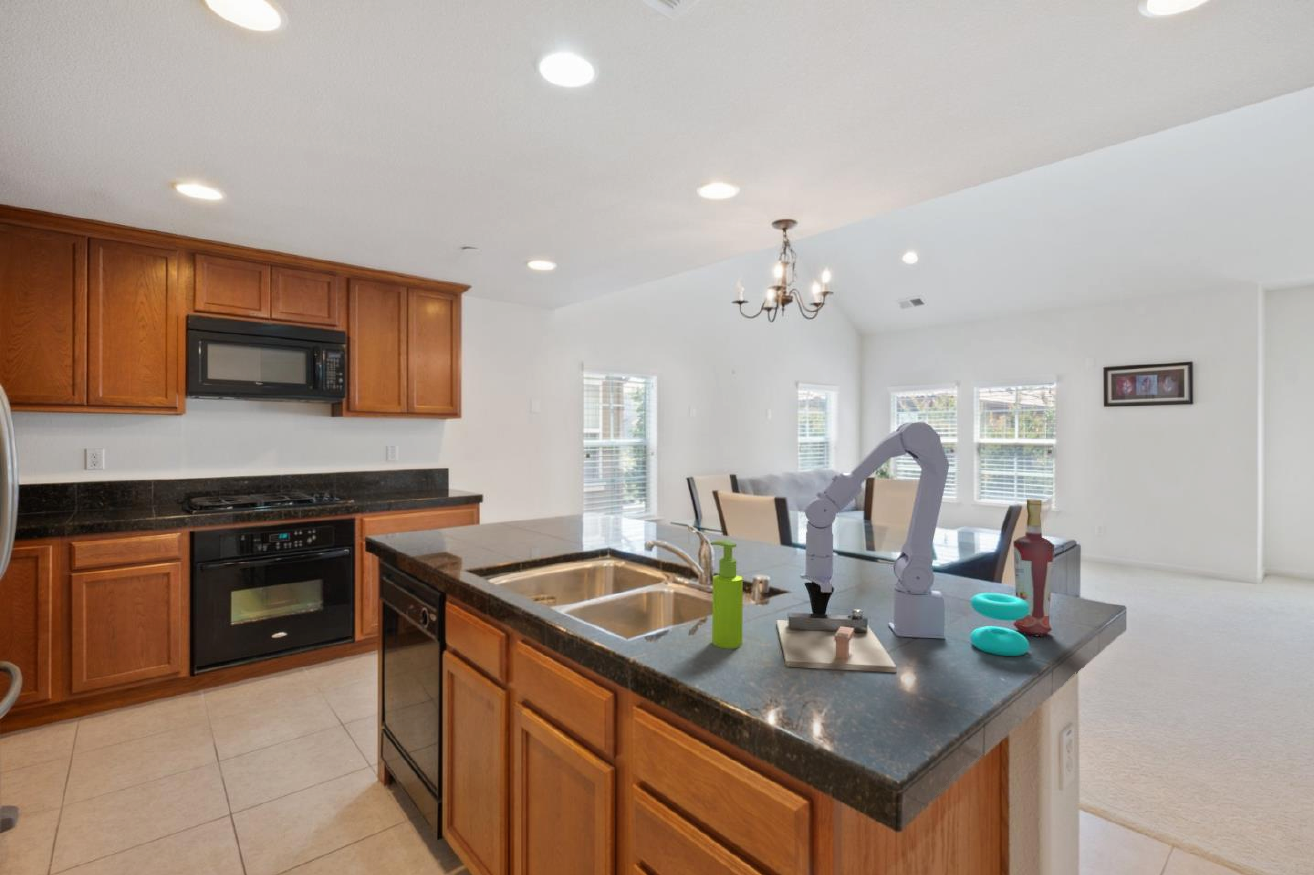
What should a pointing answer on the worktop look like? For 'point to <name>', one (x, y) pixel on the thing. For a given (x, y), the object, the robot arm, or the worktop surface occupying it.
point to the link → (828, 621)
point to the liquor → (1034, 573)
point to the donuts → (999, 637)
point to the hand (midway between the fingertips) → (818, 617)
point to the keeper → (843, 641)
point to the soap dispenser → (727, 601)
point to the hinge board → (832, 650)
